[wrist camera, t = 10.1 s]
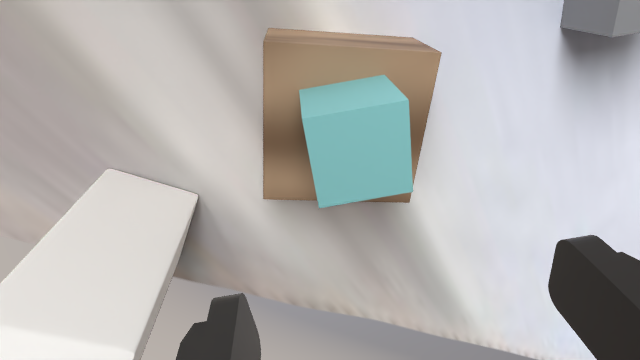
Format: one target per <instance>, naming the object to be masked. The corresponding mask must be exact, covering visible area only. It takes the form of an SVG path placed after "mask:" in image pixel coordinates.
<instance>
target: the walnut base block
mask: <svg viewBox="0 0 640 360" xmlns="http://www.w3.org/2000/svg"><path fill="white" fill-rule="evenodd" d="M440 57H441V52H439V51H437V50H435V49H434V48H432V47H430V46H428V45H426V44H424V43H422V42H420V41H418V40H416V39H414V38H411V37H396V36H380V35H365V34H350V33H335V32H320V31H305V30H290V29H275V28H268V31H267V33H266V36H265V39H264V41H263V199H273V200H316V201H318V200H317V195H316V190H315V184H314V179H313V174H312V169H311V164H310V158H309V153H308V148H307V143H306V138H305V132H304V127H303V122H302V115H301V104H300V94H299V90H301V89H307V88H312V87H318V86H324V85H329V84H335V83H340V82H346V81H351V80H357V79H363V78H368V77H374V76H379V75H385V76H386V77H387V78H388V79H389V80H390V81H391V82H392V83H393V84H394V85H395V86H396V87H397V88H398V89H399V90H400V91H401V92H402V93H403V94H404V95H405V96H406V97H407V98H408V100H409V116H410V138H411V159H412V181H413V183H414V179H415V174H416V169H417V165H418V160H419V155H420V151H421V146H422V141H423V137H424V132H425V127H426V123H427V118H428V113H429V109H430V104H431V99H432V95H433V90H434V85H435V81H436V76H437V71H438V67H439V62H440ZM411 193H412V192H409V193H403V194H397V195H392V196H386V197H380V198H375V199H369V200H363V201H360V202H403V203H409V202H410V197H411Z"/></svg>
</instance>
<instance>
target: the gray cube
mask: <svg viewBox="0 0 640 360" xmlns="http://www.w3.org/2000/svg"><path fill="white" fill-rule="evenodd" d="M560 27H562V28H567V29H572V30H577V31H582V32H587V33H592V34H597V35H602V36H607V37H617V36H623V35H629V34H635V33H640V0H564V5H563V12H562V19H561V26H560Z"/></svg>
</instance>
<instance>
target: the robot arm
mask: <svg viewBox="0 0 640 360" xmlns="http://www.w3.org/2000/svg"><path fill="white" fill-rule="evenodd" d="M548 287H549V293H550V297H551V299H552V302H553V304H554V305H555V307H556V308H557V310H558V311H559V312H560V314H561V315H562V316H563V317H564V319H565V320H566V321H567V322H568V324H569V325H570V326H571V328H572V329H573V330H574V331H575V333H576V334H577V335H578V336H579V338H580V339H581V340H582V341H583V343H584V344H585V345H586V346H587V348H588V349H589V350H590V351H591V353H592V354H593V355H594V356H595V358H596V359H597V360H640V261H639V260H637V259H635V258H633V257H631V256H629V255H627V254H625V253H623V252H619V253H617V252H616V251H614V250H613V249H612V248H611V247H610V246H609V245H607V244H606V243H605V242H604V241H603V240H602V239H600V238H599V237H597V236H594V235H588V236H582V237H576V238H571V239H565V240H560V241H559V242H558V243H557V245H556V249H555V254H554V259H553V264H552V269H551V274H550V279H549V284H548ZM260 358H261V348H260V339H259V334H258V331H257V328H256V325H255V322H254V319H253V316H252V313H251V311H250V308H249V305H248V302H247V299H246V297H245V295H244V294H243V293H241V294H235V295H229V296H224V297H218V298H214V299H213V300H212V302H211V305H210V310H209V314H208V318H207V321H205V322H199V323H194V324H193V326H192V327H191V328H190V330H189V331H188V333H187V334H186V336H185V337H184V339H183V340H182V342H181V343H180V347H179V350H178V354H177V357H176V360H261V359H260Z"/></svg>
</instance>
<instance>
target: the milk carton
mask: <svg viewBox="0 0 640 360" xmlns="http://www.w3.org/2000/svg"><path fill="white" fill-rule="evenodd" d="M197 200H198V195H197V194H195V193H192V192H188V191H185V190H182V189H178V188H175V187H172V186H168V185H165V184H162V183H158V182H155V181H151V180H148V179H145V178H141V177H138V176H135V175H131V174H128V173H125V172H121V171H118V170H114V169H110V168H109V169H107V170H106V171H105V172H104V173H103V174H102V175H101V176H100V177H99V178H98V179H97V180H96V181H95V183H94V184H93V185H92V186H91V187H90V188H89V189H88V190H87V191H86V192H85V193H84V194H83V195H82V196H81V198H80V199H79V200H78V201H77V202H76V203H75V204H74V205H73V206H72V207H71V208H70V209H69V210H68V211H67V213H66V214H65V215H64V216H63V217H62V218H61V219H60V220H59V221H58V222H57V223H56V224H55V225H54V226H53V228H52V229H51V230H50V231H49V232H48V233H47V234H46V235H45V236H44V237H43V238H42V239H41V240H40V241H39V242H38V244H37V245H36V246H35V247H34V248H33V249H32V250H31V251H30V252H29V253H28V254H27V255H26V257H25V258H24V259H23V260H22V261H21V262H20V263H19V264H18V265H17V266H16V267H15V268H14V269H13V270H12V271H11V273H10V274H9V275H8V276H7V277H6V278H5V279H4V280H3V281H2V282H1V283H0V360H141V357H142V355H143V352H144V349H145V346H146V344H147V342H148V339H149V336H150V334H151V331H152V329H153V326H154V323H155V321H156V318H157V316H158V313H159V310H160V308H161V305H162V302H163V300H164V297H165V295H166V292H167V289H168V287H169V284H170V282H171V279H172V277H173V274H174V271H175V269H176V266H177V264H178V261H179V258H180V255H181V252H182V248H183V245H184V242H185V239H186V236H187V232H188V229H189V226H190V223H191V219H192V216H193V213H194V210H195V207H196V203H197Z"/></svg>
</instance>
